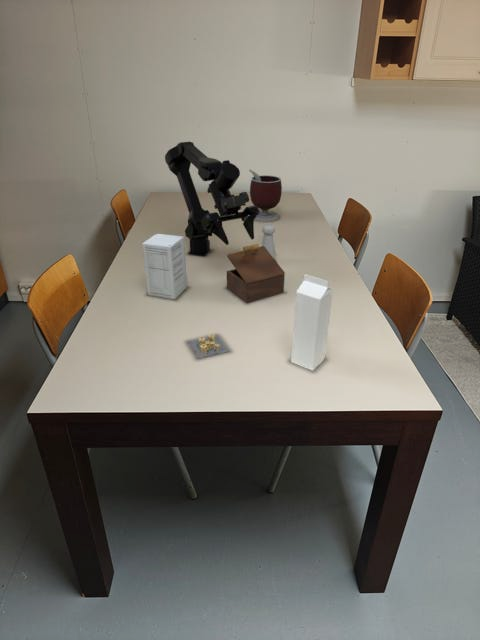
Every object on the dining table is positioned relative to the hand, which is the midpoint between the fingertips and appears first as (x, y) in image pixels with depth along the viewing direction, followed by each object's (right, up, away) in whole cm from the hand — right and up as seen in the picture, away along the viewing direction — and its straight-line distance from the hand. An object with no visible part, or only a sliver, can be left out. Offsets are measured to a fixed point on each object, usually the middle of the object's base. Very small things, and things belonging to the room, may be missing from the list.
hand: (240, 241), depth 142 cm
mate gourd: (+10, +22, +65) cm, 69 cm away
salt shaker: (+10, -4, +21) cm, 23 cm away
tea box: (+4, -15, 0) cm, 16 cm away
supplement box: (-23, -16, 0) cm, 27 cm away
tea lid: (+4, -8, -4) cm, 10 cm away
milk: (+16, -34, -32) cm, 50 cm away
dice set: (-8, -31, -27) cm, 42 cm away
